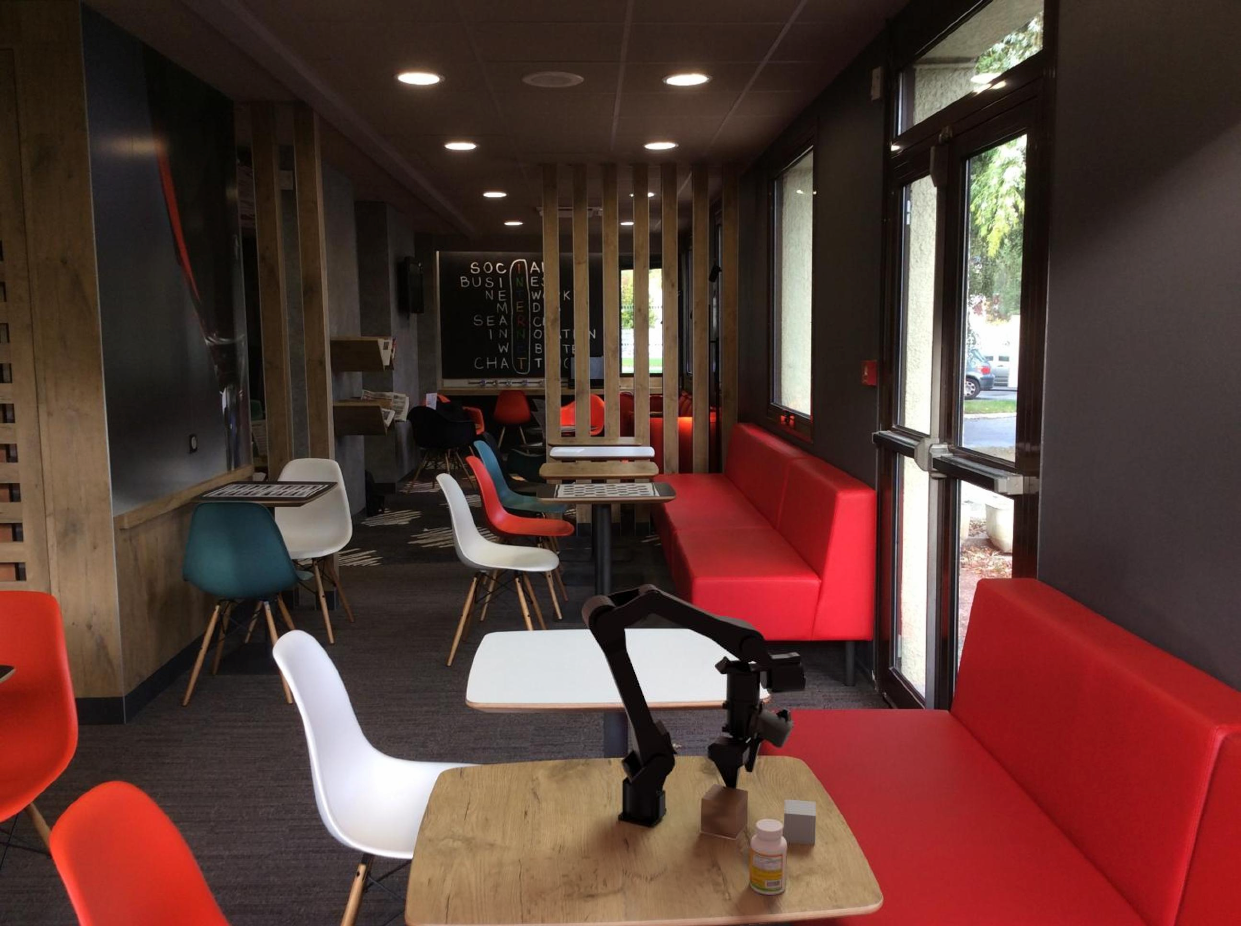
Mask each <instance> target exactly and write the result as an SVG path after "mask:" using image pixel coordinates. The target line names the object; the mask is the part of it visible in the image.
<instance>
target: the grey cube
mask: <svg viewBox="0 0 1241 926" xmlns="http://www.w3.org/2000/svg"><path fill="white" fill-rule="evenodd" d="M783 811H784V812H783V814H784V815H783V819H784V820H783V837H784V838H785V840H786V842H787V843H793V844H802V845H814V846H815V845H816V825H817V821H816V820H817V813H816V812H817V801H809V800H799V799H785V800H784V810H783Z"/></svg>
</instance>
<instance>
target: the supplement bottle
mask: <svg viewBox="0 0 1241 926" xmlns="http://www.w3.org/2000/svg"><path fill="white" fill-rule="evenodd" d="M749 857H750V858H749V885H750V887H751V889H753V890H754V891H755V892H757V893H759V894H762V895H769V896H770V895H771V896H774V895H779V894H781V893H783V892H784V891H785V890H786V887H787V867H788V866H787V865H788V864H787V862H788V842H786V840H785V838H784V824H783V823H782V822H781V821H779V820H776V819H773V818H763V819H760V820H758V821H756V823H755V834H754V835H753V836H752V838H751V839H750V854H749Z"/></svg>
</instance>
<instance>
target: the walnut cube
mask: <svg viewBox="0 0 1241 926" xmlns="http://www.w3.org/2000/svg"><path fill="white" fill-rule="evenodd" d="M748 795H749V791H748V790H746V789H741V788H737V789H736V788H732V787H727V786H726V785H721V784H716V783H713V784H712V786H711V787H710V788H709V789H708V790H707V792H705V794H703V796H701V800H700V803H701V804H700V833H702V834H707V835H711V836H715V837H720V838H723V839H728V840H732V841H736V840H737V838H738V837H739V836H740V835H741V833H742V832H743V831H744V829H745V828H746V826H747V825H748V809H749V808H748V807H749V806H748V800H749V799H748V798H749V796H748Z"/></svg>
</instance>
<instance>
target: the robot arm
mask: <svg viewBox="0 0 1241 926" xmlns="http://www.w3.org/2000/svg"><path fill="white" fill-rule="evenodd" d="M652 614H654V615H656V616H659V617H660V618H664V619H665V620H667V621H670V622H672V623H674V624H675V625H679V626H681V627H684V628H685V629H687V630H690V631H692V632H694V633H697V634H699V635H701V636H703V637H706V638H708V639H709V640H712V642H714V643H715V644H716V645H718V646H720V647H721V648H722V649H724V650H725V651H726V652H728V653H729V654H731V655H732V656H733V657H735V658H736V659H735V660H733V659H732V660H730V659H729V658H728V656H726V655H724V656H723V657H722V659H721V660H720V661H717V663H716V664H714V668H715V669H716V670H717V671H718V672H719V674H721V675H726V690H725V691H726V697H725V698H726V699H725V700H724V701H723V702H722V704H721V705H722V708H721V709H722V710H725V723H724V724H723V725H722V726H721V732H722V733H726V734H728V735H729V737H728V736H723V735H718V736H717V737H716V738H715V739H713V741H712V742H710V744H709V745H708V746H707V749H706V750H707V752H706V753H707V754H706V755H707V758H708V760H710V761H711V762H712V763H714V766H716V769H717V771H718V773H719V774H720V777H721V779H722V780H723V783H724V786H727V787H732V788H736V789H738V783H739V777H740V772H741V768H742V767H744V769H745V772H746V773H753V771H754V767H755V764H756V761H757V758H758V754H759V751H760V747H761V744H762V742H763V741H767V742H768V743H771V744H772V746H773V747H775V748H778V749H780V748H781V749H782V748H783V746H784V745H785V744H786V743H787V741H788V738H789V737H790V735H791V732H792V730H793V729H794V720H792V711H791V710H790V709H788V708H786V707H782V708H780V709H778V711H776V712H775V710H771V711H770V710H767V709H766V707H765V705H766V704H765V701H764V699H763V698H761V696H760V695H761V688H762V689H763V690H766V691H767V693H768V695H772V696H773V695H774V696H775V695H785V694H786V695H787V694H799V693H800V694H802V693H804V691H805V689H806V686H807V685H806V681H807V679H806V678H807V677H806V676H805V671H804V666H803V664H802V656H801V655H800V654H798V653H797V652H789V653H783V654H770V652H768V650H767V649H766V639H765V637H764V635H763V634H762V632H760V631H759V630H758V629H757V628H756V627H754V626H753V625H752V624H751V623H750V622H749V621H747V620H743V619H740V618H735V617H731V616H726V615H718V614H713V613H711V612H709V611H707V610H704V609H703V608H701V607H698V606H696V605H694V604H691V603H690V602H689V601H688V602H687V601H685V600H683V599H681V598H678V596H677V597H676V596H674V595H672V594H670V593H668V592H665V591H663V590H661V589H659V588H658V587H656V586H655V585H654V584H650V583H647V584H646V583H645V584H643V585H641V586H638V587H634V588H632V589H630V588H629V589H626V590H621V591H615V592H612V593H610V594H607V595H602V594H601V595H599V594H598V595H597V594H596V595H594V596H591V597H590V598H588V599H587V600H586V601H585V602H584V604H583V607H582V609H581V615H582V619H583V621H584V622H585V624H586V626H587V628H588V629H589V631H590V633H591V634H592V637H594V639H595V641H596V643H597V645H598V647H599V648H600V649H601V651H602V653H603V655H604V658H605V659H606V663H607V664H608V666H607V667H608V668H609V671H610V673H611V675H612V679H613V681H614V684H615V687H616V689H617V692H618V694H619V697H620V699H621V703H622V704H623V707H624V710H625V713H626V716H627V718H628V721H629V725H630V735H631V737H630V738H631V743H632V749H631V751H630V752H628V753H627V755H626V756H625V757H624V758H622V760H621V761H620V764H621V766H622V769H623V771H624V774H625V775H626V777H625V778H624V779H623V780H622V782H621V783H622V784H621V787H622V788H621V789H622V790H621V793H622V795H621V796H622V798H621V801H622V802H621V806H622V807H621V812H620V813H619V814H618V815H617V819H618V820H621V821H624V822H629V823H634V824H638V825H642V826H646V827H654V826H655V825H656V823H658V821H660V820H661V818H662V817H663V816H664V815H665V814H666V813H667V808H666V790H665V789H664V785H665V782H666V779H667V777H668V776H669V775H670V774H671V773H672V772H673V770H674V768H675V766H676V757H675V755H678V752H677V750H676V748H675V747H674V745H673V744H672V738H671V734H670V732H669V730H668V728H667V727H666V725H665V723H664V722H663V721H662V719H659V720H658V721H656V722H655V721H654V719H653V716H652V713H651V711H650V709H649V706H648V703H647V700H646V697H645V695H644V693H643V690H642V687H641V685H640V682H639V678H638V677H637V673H636V671H635V668H634V666H633V664H632V663H633V662H632V660H631V658H630V655H629V652H628V647H627V636H626V629H625V628H628V627H631V626H633V625H635V624H636V623H638V622H639V621H641V620H643V618H645V617H647V616H650V615H652Z"/></svg>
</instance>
